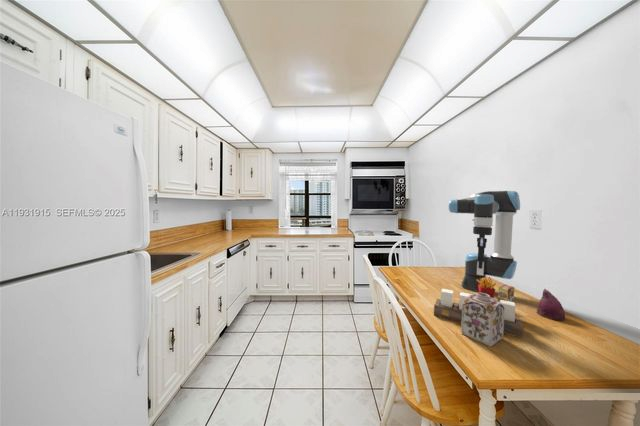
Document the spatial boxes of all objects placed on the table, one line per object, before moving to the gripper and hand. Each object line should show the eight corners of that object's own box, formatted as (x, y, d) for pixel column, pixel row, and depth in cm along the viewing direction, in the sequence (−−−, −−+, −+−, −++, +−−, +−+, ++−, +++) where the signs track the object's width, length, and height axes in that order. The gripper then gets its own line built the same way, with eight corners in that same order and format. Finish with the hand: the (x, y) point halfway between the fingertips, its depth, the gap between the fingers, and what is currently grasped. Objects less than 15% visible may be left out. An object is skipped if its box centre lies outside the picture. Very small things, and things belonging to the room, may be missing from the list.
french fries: (494, 307, 131) (496, 280, 130) (477, 304, 133) (478, 278, 133) (489, 301, 139) (490, 275, 138) (472, 299, 142) (474, 273, 141)
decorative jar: (460, 333, 103) (461, 292, 102) (473, 326, 109) (474, 287, 108) (492, 348, 93) (493, 302, 92) (504, 338, 99) (506, 296, 98)
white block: (459, 305, 120) (460, 292, 119) (471, 308, 117) (472, 294, 117) (458, 309, 116) (459, 295, 115) (471, 312, 113) (471, 297, 112)
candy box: (506, 320, 115) (507, 289, 115) (495, 317, 119) (497, 286, 118) (513, 316, 120) (514, 286, 119) (503, 313, 124) (504, 283, 123)
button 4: (499, 314, 111) (500, 299, 111) (513, 317, 108) (514, 302, 108) (500, 318, 107) (501, 303, 106) (514, 322, 104) (515, 306, 104)
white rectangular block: (441, 301, 124) (442, 288, 124) (452, 304, 121) (453, 290, 121) (440, 305, 120) (441, 291, 120) (451, 307, 117) (452, 293, 117)
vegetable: (538, 322, 121) (529, 293, 122) (538, 313, 129) (530, 285, 129) (567, 324, 114) (558, 293, 115) (565, 314, 122) (557, 285, 122)
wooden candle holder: (436, 308, 128) (437, 298, 128) (519, 327, 109) (519, 316, 109) (433, 315, 119) (434, 305, 119) (522, 337, 100) (523, 326, 100)
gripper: (474, 225, 124) (471, 270, 124) (472, 226, 113) (470, 276, 113) (491, 226, 119) (489, 273, 120) (492, 227, 109) (489, 279, 109)
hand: (479, 274), depth 117 cm, fingers closed
